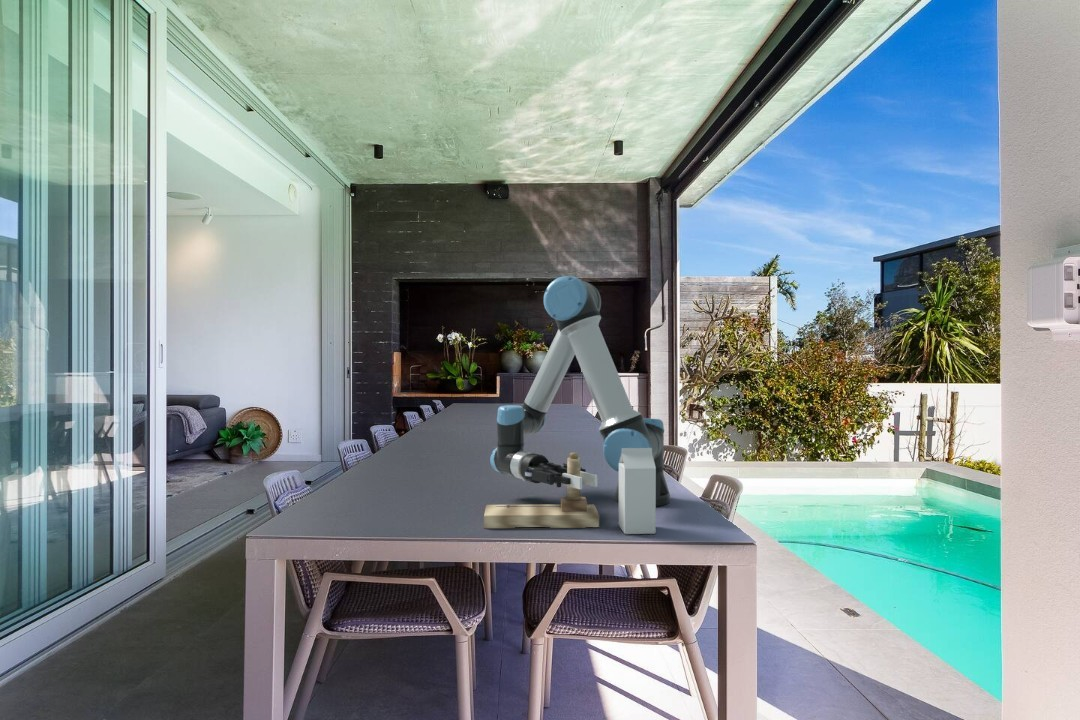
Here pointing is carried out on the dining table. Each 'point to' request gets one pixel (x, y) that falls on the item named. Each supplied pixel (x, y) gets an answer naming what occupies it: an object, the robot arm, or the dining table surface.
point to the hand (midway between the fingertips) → (588, 482)
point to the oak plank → (538, 516)
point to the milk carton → (637, 491)
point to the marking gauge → (573, 495)
